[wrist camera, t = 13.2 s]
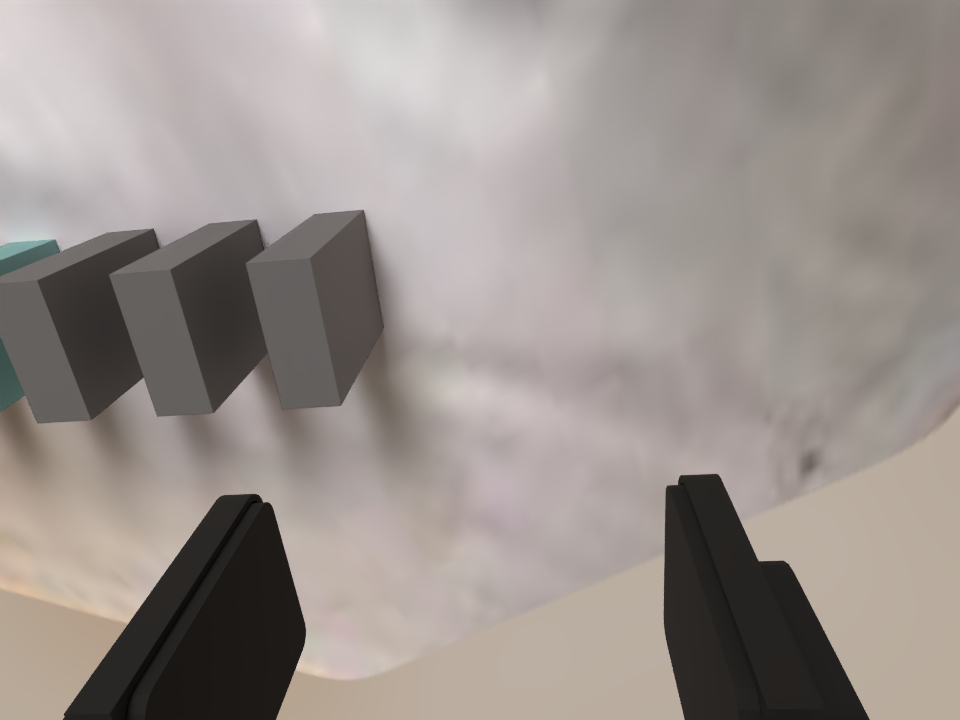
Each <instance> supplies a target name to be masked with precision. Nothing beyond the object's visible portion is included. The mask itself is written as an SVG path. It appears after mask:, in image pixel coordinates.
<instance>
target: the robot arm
mask: <svg viewBox="0 0 960 720" xmlns="http://www.w3.org/2000/svg"><path fill="white" fill-rule="evenodd" d="M664 628H665V635H666V640H667V646H668V650H669V654H670V658H671V663H672V667H673V671H674V676H675V680H676V684H677V688H678V693H679V697H680V701H681V705H682V710H683V714H684V718H685V720H869V718H868V716H867V714H866V712H865V710H864V708H863V706H862V704H861V702H860V700H859V698H858V696H857V694H856V692H855V691H854V688H853V686H852V685H851V683H850V681H849V679H848V677H847V675H846V673H845V671H844V669H843V667H842V665H841V663H840V661H839V659H838V657H837V655H836V653H835V652H834V649H833V648H832V646H831V644H830V642H829V640H828V638H827V636H826V634H825V632H824V630H823V628H822V626H821V624H820V622H819V620H818V618H817V616H816V615H815V613H814V611H813V609H812V607H811V605H810V603H809V601H808V599H807V597H806V595H805V593H804V591H803V589H802V587H801V585H800V583H799V582H798V580H797V578H796V576H795V574H794V572H793V570H792V569H791V567H790V566H789V564H787V563H786V562H785V561H762V562H761V561H758V559H757V557H756V555H755V553H754V550H753V548H752V546H751V544H750V541H749V540H748V537H747V535H746V533H745V530H744V528H743V526H742V524H741V522H740V519H739V517H738V515H737V513H736V511H735V509H734V506H733V504H732V502H731V500H730V498H729V495H728V493H727V491H726V489H725V487H724V484H723V482H722V480H721V478H720V476H719V475H718V474H704V475H681V476H680V477H679V481H678V485H670V486H667V487H666V509H665V569H664ZM305 637H306V627H305V622H304V618H303V615H302V611H301V607H300V604H299V600H298V597H297V593H296V589H295V586H294V582H293V578H292V575H291V571H290V568H289V564H288V560H287V557H286V553H285V550H284V546H283V542H282V539H281V535H280V532H279V528H278V524H277V521H276V517H275V514H274V510H273V507H272V505H271V504H270V503H268V502H264V503H263V501H262V499H261V498H260V496H259V495H257V494H243V495H224V496H221V497H219V498H218V499H217V500H216V502H215V503H214V505H213V506H212V507H211V509H210V510H209V512H208V513H207V514H206V516H205V517H204V519H203V520H202V521H201V523H200V524H199V526H198V527H197V528H196V530H195V531H194V533H193V534H192V535H191V537H190V538H189V540H188V541H187V542H186V544H185V545H184V547H183V548H182V549H181V551H180V552H179V554H178V555H177V556H176V558H175V559H174V561H173V562H172V563H171V565H170V566H169V568H168V569H167V570H166V572H165V573H164V575H163V576H162V577H161V579H160V580H159V582H158V583H157V584H156V586H155V587H154V589H153V590H152V591H151V593H150V594H149V596H148V597H147V598H146V600H145V601H144V603H143V604H142V605H141V607H140V608H139V610H138V611H137V612H136V614H135V615H134V617H133V618H132V619H131V621H130V622H129V624H128V625H127V627H126V628H125V629H124V631H123V632H122V633H121V635H120V636H119V638H118V639H117V640H116V642H115V643H114V645H113V646H112V648H111V649H110V650H109V652H108V653H107V654H106V656H105V657H104V659H103V660H102V661H101V663H100V664H99V666H98V667H97V669H96V670H95V671H94V673H93V674H92V675H91V677H90V678H89V680H88V681H87V682H86V684H85V685H84V687H83V688H82V690H81V691H80V692H79V694H78V695H77V697H76V698H75V699H74V701H73V702H72V704H71V705H70V706H69V708H68V709H67V711H66V712H65V713H64V716H65V717H64V719H63V720H276V718H277V715H278V713H279V710H280V707H281V705H282V702H283V700H284V697H285V695H286V692H287V689H288V687H289V684H290V682H291V679H292V676H293V674H294V671H295V669H296V666H297V663H298V661H299V658H300V656H301V653H302V651H303V647H304V644H305Z"/></svg>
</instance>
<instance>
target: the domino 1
mask: <svg viewBox="0 0 960 720" xmlns="http://www.w3.org/2000/svg"><path fill="white" fill-rule="evenodd" d="M59 252H60V251H59V249H58V246H57V243H56V240H41V241H27V242H13V243H8V244H6V245H3V246H0V276H2V275H5V274H7V273H10V272H12V271H15V270H17V269H20V268H22V267H25V266H27V265H29V264H32V263H34V262H37V261H39V260H42V259H44V258H47V257H49V256H52V255H54V254H57V253H59ZM23 396H25V393H24V391H23V388H22V386H21V384H20V381H19V379H18V377H17V374H16V372H15V370H14V367H13V365H12V363H11V360H10V358H9V356H8V353H7V351H6V349H5V346H4V344H3V342H2V339H1V337H0V412H1V411H2V410H4V409H5V408H7V407H8V406H10V405H11V404H13V403H14V402H16V401H17V400H19V399H20V398H22V397H23Z"/></svg>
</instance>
